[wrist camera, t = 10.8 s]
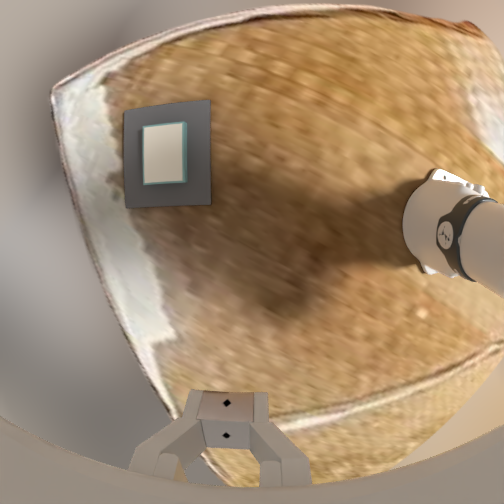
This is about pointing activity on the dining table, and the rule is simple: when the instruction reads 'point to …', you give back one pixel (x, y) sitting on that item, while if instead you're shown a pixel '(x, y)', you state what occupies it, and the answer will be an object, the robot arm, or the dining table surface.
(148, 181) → the box
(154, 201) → the mat
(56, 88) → the dining table surface
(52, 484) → the robot arm
